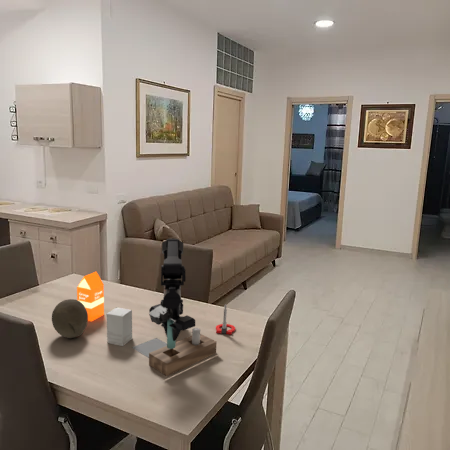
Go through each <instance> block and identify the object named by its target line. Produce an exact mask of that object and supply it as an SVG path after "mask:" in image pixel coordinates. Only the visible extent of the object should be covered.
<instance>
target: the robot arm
mask: <svg viewBox="0 0 450 450" xmlns="http://www.w3.org/2000/svg"><path fill="white" fill-rule="evenodd" d="M161 247H162V248H161V254H163V264H162V265H161V269H160V271H161V273H160V274H161V275H160V286H163V299H161V301H160V303H157V304H155V305H152V306H150V308H149V313H148V314H149V318H150V321H151V322H152V323H155V324H156V325H158V326H159V325H160V326H161V327H163V330H164V333H165V336H166V337H167V320H169V319H171V320H173V321H174V322H173V324H171V325H169V326H170V327H171V328H172V336H173V341H175V340H177V339H178V337H179V335H180V333H181V332H182V331H186V330H189V329H191V328H195V327H196V319H195V318H194V317H191V316H190V315H184V316H183V313H184V304H183V303H184V300H183V299H182V294H181V293H182V292H181V288H182V287H181V286H185V285H184V283H186V278H187V277H186V268H185V265H183V262H182V255H183V254H184V242H183V241H181V240H180V238H167V239H166V240H165V241H163V242H162V244H161Z"/></svg>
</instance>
